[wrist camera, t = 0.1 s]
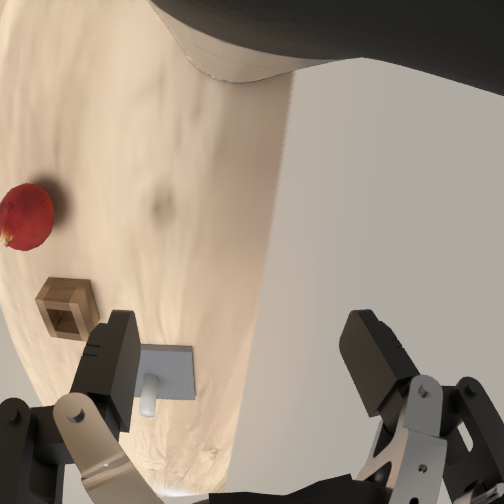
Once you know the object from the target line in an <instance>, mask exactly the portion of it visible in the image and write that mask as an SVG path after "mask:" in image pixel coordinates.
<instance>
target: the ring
mask: <svg viewBox="0 0 504 504" xmlns="http://www.w3.org/2000/svg"><path fill="white" fill-rule="evenodd" d="M35 301H36V304H37V306H38V309H39V311H40V314H41V316H42V318H43V321H44V323H45V325H46V328H47V330H48V332H49V334H50V336H51V337H56V338H63V339H70V340H78V341H86V342H87V340H88V337H89V335H90V332H91V331H92V330H93V329H94V328H95V327H96V326H97V324H98V321H99V318H100V317H99V314H98V310H97V307H96V303H95V299H94V296H93V292H92V288H91V284H90V280H82V279H65V278H50V277H49V278H48V279H47V281H46V282H45V284H44V285H43V287H42V289H41V290H40V292H39V293H38V295H37V297H36V298H35Z"/></svg>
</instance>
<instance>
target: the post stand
mask: <svg viewBox="0 0 504 504" xmlns="http://www.w3.org/2000/svg"><path fill="white" fill-rule="evenodd" d="M134 397H141V402H140V411H139V413H140V414H141V415H142V416H145V417H154V416H155V405H156V399H172V400H195V387H194V374H193V360H192V346H170V345H149V344H141V356H140V362H139V368H138V374H137V380H136V386H135V392H134Z"/></svg>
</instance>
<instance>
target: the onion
mask: <svg viewBox="0 0 504 504" xmlns="http://www.w3.org/2000/svg"><path fill="white" fill-rule="evenodd" d="M53 224H54V207H53V203H52V200H51V198H50V196H49V195H48V193H47V192H46V190H44V189H43V188H41V187H40V186H38V185H35V184H28V183H25V184H22V185H19V186H17V187H15V188H12V189H11V190H10V191H9V192H8V193H7V194H6V196H5V197H4V198H3V200H2V201H1V203H0V237H1V241H2V243H3V245H5V246H6V247H8V246H9V247H11V248H13V249H16V250H21V251H28V250H31V249H33V248H36V247H38V246H40V245H41V244H43V242H44V241H45V240H46V239H47V237H48V236H49V235H50V233H51V231H52V228H53Z"/></svg>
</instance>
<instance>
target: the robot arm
mask: <svg viewBox="0 0 504 504" xmlns="http://www.w3.org/2000/svg"><path fill="white" fill-rule="evenodd" d="M147 1H148V2H149V4H150V5H151V6H152V8H153V9H154V10H155V12H156V13H157V14H158V15H159V17H160V18H161V20H162V21H163V22H164V24H165V25H166V27H167V28H168V29H169V31H170V32H171V34H172V35H173V37H174V38H175V39H176V41H177V42H178V44H179V45H180V47H181V48H182V50H183V51H184V53H185V54H186V55H187V57H188V58H189V60H190V61H191V63H192V64H193V65H194V66H195V67H197V68H198V69H199V70H200V71H201V72H203V73H205V74H206V75H208V76H209V77H212V78H215V79H217V80H220V81H225V82H231V83H248V82H255V81H259V80H263V79H265V78H268V77H272V76H275V75H279V74H282V73H286V72H290V71H294V70H298V69H302V68H306V67H310V66H315V65H320V64H324V63H328V62H333V61H339V60H345V59H351V58H360V57H364V58H370V59H376V60H381V61H385V62H389V63H394V64H398V65H401V66H405V67H409V68H412V69H416V70H419V71H423V72H426V73H430V74H433V75H436V76H440V77H443V78H446V79H450V80H453V81H456V82H459V83H463V84H466V85H469V86H473V87H476V88H479V89H482V90H486V91H489V92H492V93H495V94H498V95H502V96H504V0H147ZM339 349H340V353H341V355H342V357H343V360H344V362H345V364H346V366H347V368H348V370H349V372H350V375H351V377H352V379H353V381H354V384H355V386H356V388H357V390H358V393H359V395H360V397H361V399H362V402H363V404H364V406H365V408H366V411H367V413H368V415H369V417H374V416H378V415H381V417H382V420H381V421H380V423H379V426H378V429H377V432H376V436H375V439H374V442H373V445H372V448H371V451H370V454H369V457H368V459H367V462H366V463H365V465H364V467H363V468H362V469H361V471H360V472H359V474H358V476H357V478H356V480H352V477H351V474H346V475H343V476H339V477H335V478H331V479H326V480H322V481H318V482H316V483H314V484H312V485H309V486H307V487H305V488H303V489H300V490H298V491H296V492H293V493H291V494H288V495H271V494H260V493H251V492H234V493H209V499H206V500H202V501H199V502H196V503H193V504H436V503H437V499H438V495H439V490H440V486H441V481H442V478H443V480H444V483H445V486H446V488H447V491H448V494H449V497H450V499H451V502H452V504H504V423H503V421H502V420H501V418H500V416H499V414H498V412H497V410H496V409H495V407H494V405H493V403H492V402H491V400H490V398H489V397H488V395H487V393H486V392H485V390H484V388H483V387H482V385H481V384H480V383H479V382H478V381H477V380H475V379H474V378H472V377H463V378H462V379H461V380H460V381H459V382H458V384H457V385H456V386H441V385H440V384H439V383H438V381H436V380H435V379H434V378H432V377H430V376H428V375H421V374H420V373H419V371H418V370H417V368H416V367H415V365H414V363H413V362H412V360H411V359H410V357H409V356H408V354H407V352H406V351H405V349H404V348H402V345H401V343H400V342H399V340H397V337H396V336H395V334H394V333H393V331H392V330H391V328H389V327H388V326H387V325H386V324H385V323H383V322H382V321H379V320H378V319H377V317H376V316H375V314H374V313H373V311H372V310H370V309H366V310H353V311H351V312H350V314H349V316H348V319H347V322H346V324H345V327H344V330H343V332H342V335H341V337H340V341H339ZM140 356H141V344H140V338H139V333H138V328H137V323H136V318H135V313H134V311H129V310H113V311H112V312H111V315H110V318H109V321H108V323H107V324H106V323H99V324H98V325H97V326H96V327H95V328H94V329H93V330H92V331H91V332H90V335H89V337H88V340H87V343H86V346H85V348H84V351H83V356H82V357H81V360H80V362H79V365H78V368H77V371H76V374H75V378H74V381H73V384H72V387H71V390H70V392H69V394H66V395H64V396H62V397H61V398H60V399H59V400H58V401H57V402H56V404H55V405H52V406H45V407H33V408H29V406H28V405H27V404H26V403H25V402H24V401H23V400H21V399H19V398H9V399H6V400H4V401H3V402H2V403H1V404H0V504H62V496H63V481H64V468H65V464H73V463H75V464H76V466H77V468H78V469H79V471H80V473H81V476H82V478H81V481H82V484H83V486H84V488H85V490H86V492H87V493H88V495H89V497H90V498H91V500H92V501H93V503H94V504H165V503H164V502H163V501H162V500H161V499H160V498H159V497H158V495H157V494H156V493H155V492H154V491H153V489H152V488H151V487H150V486H149V484H148V483H147V482H146V481H145V479H144V478H143V477H142V476H141V474H140V473H139V472H138V470H137V469H136V468H135V466H134V465H133V463H132V462H131V461H130V459H129V458H128V456H127V455H126V454H125V452H124V451H123V449H122V448H121V446H120V445H119V443H118V442H119V434H120V432H127V433H129V430H130V421H131V414H132V406H133V399H134V392H135V386H136V380H137V374H138V368H139V362H140ZM462 422H464V424H465V426H466V428H467V430H468V432H469V434H470V436H471V438H472V440H473V448H472V450H471V451H470V452H469V451H468V450H467V447H466V445H465V443H464V441H463V439H462V437H461V435H460V432H459V430H458V428H457V427H458V426H459V425H460V424H461V423H462Z"/></svg>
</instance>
